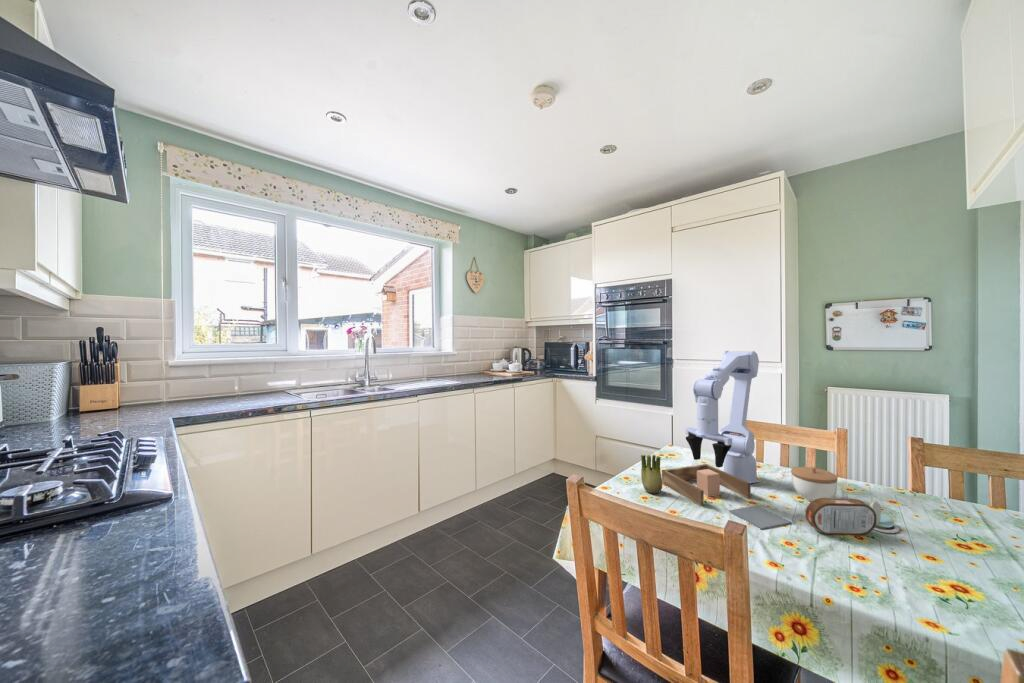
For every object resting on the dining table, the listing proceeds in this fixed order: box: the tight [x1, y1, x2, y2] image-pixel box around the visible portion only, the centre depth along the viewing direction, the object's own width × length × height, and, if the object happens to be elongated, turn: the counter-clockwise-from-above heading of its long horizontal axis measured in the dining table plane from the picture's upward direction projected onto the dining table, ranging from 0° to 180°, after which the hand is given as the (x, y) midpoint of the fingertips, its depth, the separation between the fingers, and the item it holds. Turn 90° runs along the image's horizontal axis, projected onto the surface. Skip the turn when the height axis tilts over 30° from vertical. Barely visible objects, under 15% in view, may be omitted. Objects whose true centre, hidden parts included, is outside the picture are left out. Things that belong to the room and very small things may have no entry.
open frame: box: [661, 463, 752, 507], centre depth 118 cm, size 18×18×4 cm
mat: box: [728, 505, 793, 530], centre depth 100 cm, size 10×10×1 cm
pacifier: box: [869, 501, 900, 534], centre depth 93 cm, size 7×6×6 cm
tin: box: [805, 497, 877, 536], centre depth 91 cm, size 15×3×8 cm, turn 84°
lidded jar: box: [790, 466, 838, 503], centre depth 110 cm, size 11×11×9 cm
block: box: [696, 469, 721, 497], centre depth 116 cm, size 4×4×6 cm
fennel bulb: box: [640, 453, 663, 495], centre depth 118 cm, size 6×5×12 cm
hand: (707, 462), depth 113 cm, fingers open, 7 cm apart
